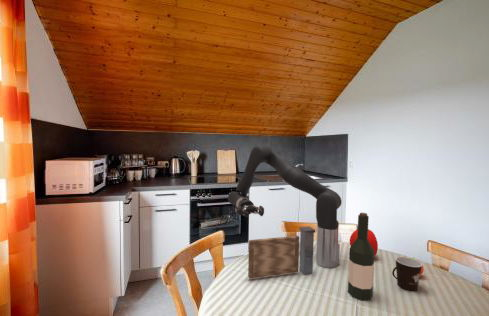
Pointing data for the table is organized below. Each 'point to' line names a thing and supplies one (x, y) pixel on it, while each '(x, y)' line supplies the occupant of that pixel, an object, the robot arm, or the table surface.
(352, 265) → the wine bottle
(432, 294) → the table surface
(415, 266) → the coffee mug
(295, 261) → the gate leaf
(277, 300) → the table surface
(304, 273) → the gate post
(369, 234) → the tomato
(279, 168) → the robot arm
